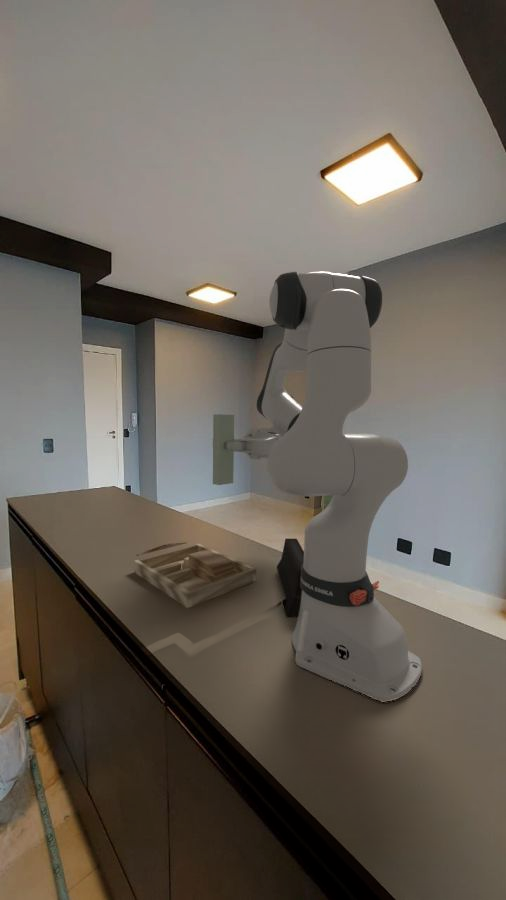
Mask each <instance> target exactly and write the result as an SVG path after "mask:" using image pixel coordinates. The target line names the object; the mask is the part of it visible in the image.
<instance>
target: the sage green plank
mask: <svg viewBox="0 0 506 900" xmlns="http://www.w3.org/2000/svg"><path fill="white" fill-rule="evenodd" d="M212 418H213V419H212V420H213V423H212V424H213V425H212V429H213V430H212V431H213V432H212V435H213V436H212V437H213V438H212V485H217V486H223V485H230V484H234V468H235V467H234V466H235V465H234V463H235V462H234V460H235V459H234V456H235V455H234V453H235V451H234V449H230V450H228V449H224V443H225V442H234V437H235V414H217V413H216V414H215V413H214V414H213V417H212Z"/></svg>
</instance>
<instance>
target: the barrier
mask: <svg viewBox="0 0 506 900" xmlns="http://www.w3.org/2000/svg"><path fill="white" fill-rule="evenodd" d="M282 549H283V550H282V554H281V559H280V560H279V562H278V564H277V566H276V569H277V572H278V575H279V576H278V577H279V579H280V582H281V586H282V589H283V593H284V596H285V599H283V600H282V601H281V604H282V606H283V610H284V614H285V617H286V618H298V615H299V610H300V604H301V595H302V589H301V586H300V578H301V567H302V565H303V564H304V548H302V546H301V543H300V542H299V540H298V538H285V540H284V544H283V547H282Z"/></svg>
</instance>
